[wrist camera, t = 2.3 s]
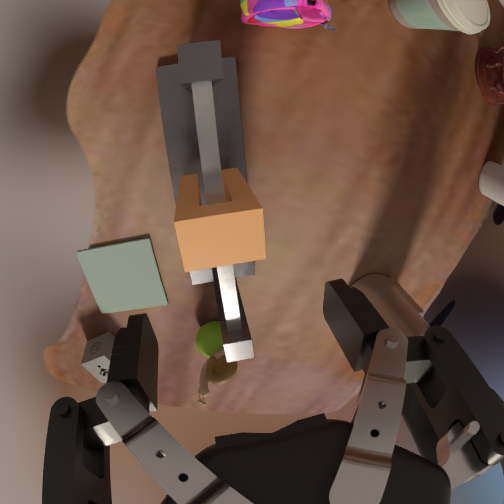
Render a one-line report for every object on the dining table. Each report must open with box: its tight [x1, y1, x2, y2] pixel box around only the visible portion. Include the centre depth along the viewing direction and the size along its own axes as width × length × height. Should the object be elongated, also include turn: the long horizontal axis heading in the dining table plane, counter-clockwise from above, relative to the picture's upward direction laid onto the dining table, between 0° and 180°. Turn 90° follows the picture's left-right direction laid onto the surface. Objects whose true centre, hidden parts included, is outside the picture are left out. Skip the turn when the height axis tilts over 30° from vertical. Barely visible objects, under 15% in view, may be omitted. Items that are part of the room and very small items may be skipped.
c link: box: [174, 168, 266, 272], centre depth 23 cm, size 5×4×11 cm, turn 94°
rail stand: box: [156, 40, 255, 362], centre depth 26 cm, size 8×26×15 cm, turn 4°
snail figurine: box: [196, 321, 237, 406], centre depth 38 cm, size 5×6×12 cm
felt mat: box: [77, 237, 168, 314], centre depth 36 cm, size 10×10×1 cm
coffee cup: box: [389, 0, 490, 34], centre depth 19 cm, size 9×9×12 cm
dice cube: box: [81, 331, 115, 383], centre depth 39 cm, size 5×5×5 cm
